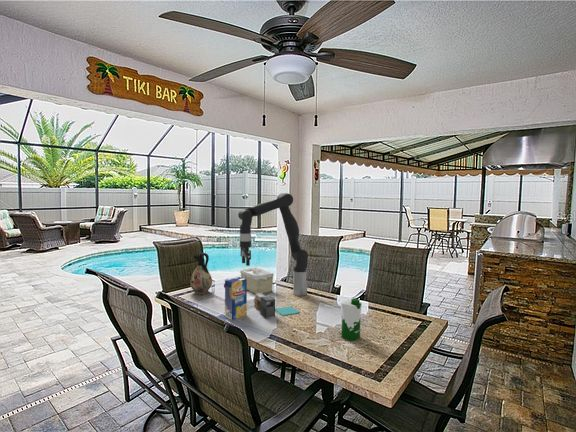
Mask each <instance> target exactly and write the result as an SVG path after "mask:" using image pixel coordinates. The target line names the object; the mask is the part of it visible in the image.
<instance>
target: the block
mask: <svg viewBox="0 0 576 432" xmlns="http://www.w3.org/2000/svg"><path fill="white" fill-rule="evenodd" d="M253 301H254V304H253V306H254V307H253V308H254V309H256V310H261V302H260V301H259V300H258V299H256V298H255V297H254V299H253Z"/></svg>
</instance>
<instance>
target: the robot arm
mask: <svg viewBox="0 0 576 432" xmlns="http://www.w3.org/2000/svg"><path fill="white" fill-rule="evenodd" d="M293 203H294V197H293V195H292V194H291V193H288V192H286V193H284V192H283V193H278V195H277V196H276V199H273V200H270V201H269V200H268V201H266V202H261V203H259V204H256V205H254V206H251V207H250V206H249V207H246V208H243V209H241V210H239V212H238V213H237V215H238V218H239V219H240V220H241V224H240V225H239V247H240V258H241V263H242V264H245V266H246V267H250V264H251V263H250V262H251V261H250V260H252V250H250V248H252V230H251V229H252V228H251V227H252V221H253V217H260V216H261V215H264V214H267V213H269V212H272V211H273V210H277V209H279V212H280V214H281V217H282V221H283V224H284V228H285V232H286V235H287V238H288V239H287V240H288V242H289V247H290V254H291V258H292V259H293V261H296V265H295V266H293V270H292V271H293V274H292V276H293V277H292V278H293V282H292V283H293V284H292V285H293V286H292V287H293V288H292V290H293V291H292V294H293V296H296V297H303V296H306V295H307V294H308V281H307V268H308V265H309V264H308V263H309V262H308V260H309V255H308V252H307V251H306V250H305V249H302V248H301V245H300V242H299V237H300V228H299V225H298V222H297V219H296V217H295V216H294V215H293V213H292V212H291V211H292V210H291V208H290V206H291V205H292V204H293Z"/></svg>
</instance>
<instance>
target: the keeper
mask: <svg viewBox="0 0 576 432" xmlns="http://www.w3.org/2000/svg"><path fill="white" fill-rule="evenodd" d="M265 296H266V297H261V309H260V315H261V316H262V317H263V318H264V319H270V318H275V317H276V311H275V309H276V298H274V297H273V296H272V295H265ZM267 302H271V305H267Z"/></svg>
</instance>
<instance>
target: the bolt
mask: <svg viewBox="0 0 576 432" xmlns="http://www.w3.org/2000/svg"><path fill="white" fill-rule="evenodd" d="M254 294H255V293H254ZM266 296H267V295H265V294H264V293H258V294H255V297H254V298H256V299H258V300H259V301H260V302H261V297H266ZM267 305H271V302H267Z"/></svg>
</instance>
